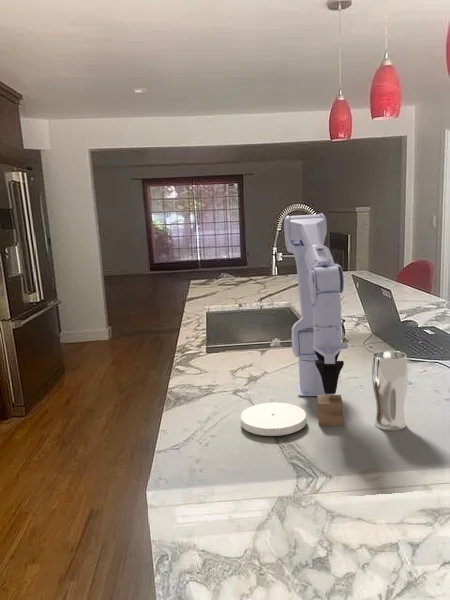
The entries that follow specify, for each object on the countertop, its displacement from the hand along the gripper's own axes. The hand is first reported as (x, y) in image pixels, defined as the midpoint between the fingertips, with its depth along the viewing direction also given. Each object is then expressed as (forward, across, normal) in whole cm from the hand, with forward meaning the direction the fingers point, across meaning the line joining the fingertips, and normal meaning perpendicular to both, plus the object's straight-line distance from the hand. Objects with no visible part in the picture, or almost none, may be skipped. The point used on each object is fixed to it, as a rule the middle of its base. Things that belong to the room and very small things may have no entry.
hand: (329, 386), depth 105 cm
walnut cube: (+8, 0, 0) cm, 8 cm away
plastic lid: (+8, -2, +12) cm, 15 cm away
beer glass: (+8, -2, -12) cm, 14 cm away
